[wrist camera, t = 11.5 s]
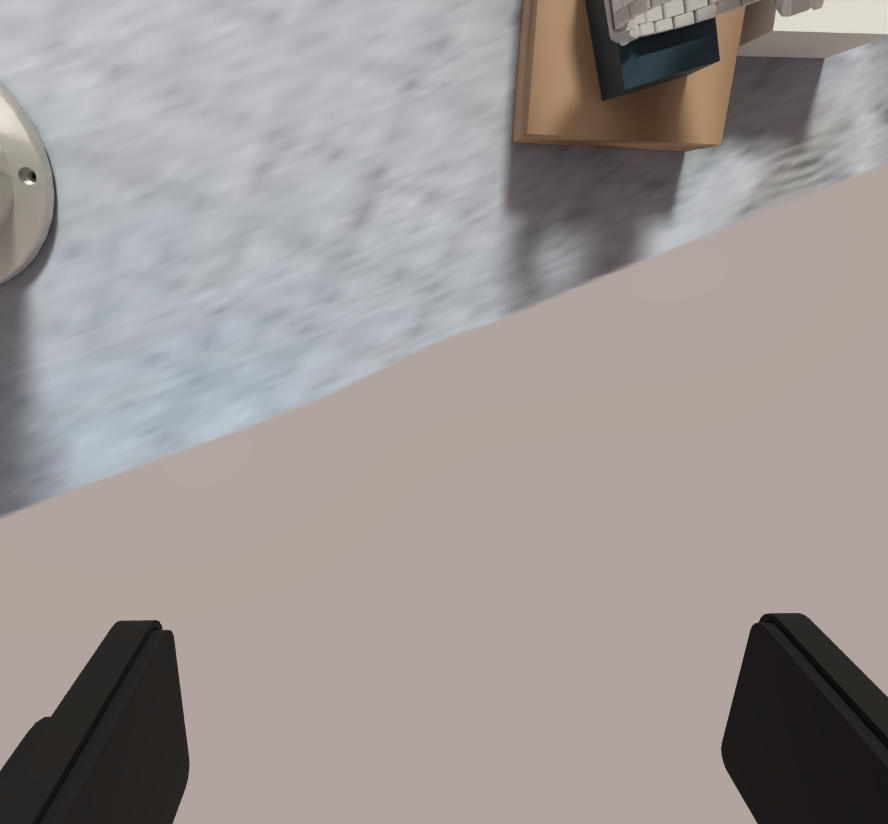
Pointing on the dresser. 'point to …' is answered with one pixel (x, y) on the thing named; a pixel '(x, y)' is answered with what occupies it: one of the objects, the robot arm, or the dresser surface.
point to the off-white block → (812, 29)
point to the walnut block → (621, 118)
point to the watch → (660, 38)
